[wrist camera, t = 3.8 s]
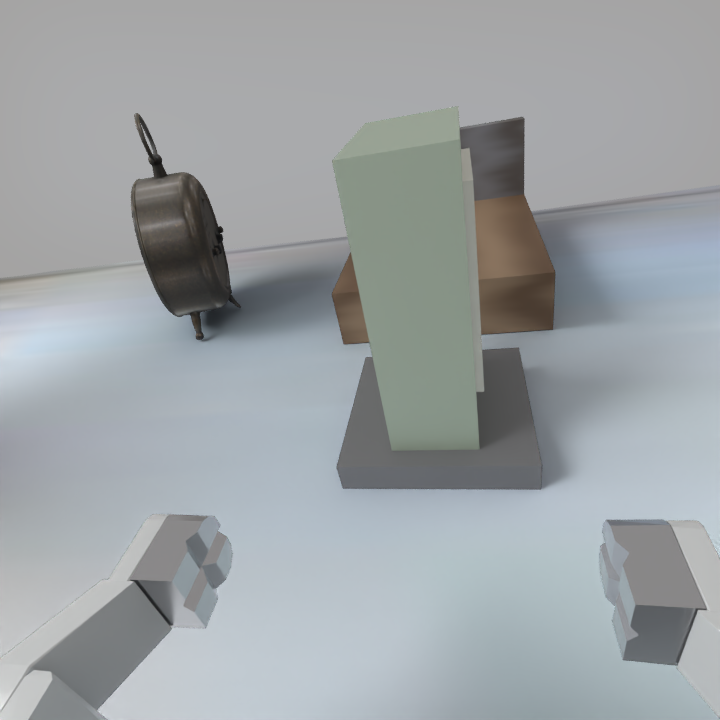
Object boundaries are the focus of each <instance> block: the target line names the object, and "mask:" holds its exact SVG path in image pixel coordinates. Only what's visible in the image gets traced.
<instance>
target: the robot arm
mask: <svg viewBox="0 0 720 720" xmlns="http://www.w3.org/2000/svg"><path fill="white" fill-rule="evenodd" d="M219 527H220V524H219V522H218V520H217V519H216V517H215V516H199V515H174V514H152V515H151V516H150V517H149V518H147V519H146V520H145V522H144V523H143V525H142V526H141V528H140V529H139V531H138V533H137V534H136V536H135V537H134V539H133V541H132V542H131V544H130V545H129V547H128V549H127V550H126V552H125V553H124V555H123V556H122V558H121V560H120V561H119V563H118V564H117V566H116V568H115V569H114V571H113V572H112V574H111V576H110V577H109V579H102V580H101V581H100V582H98V583H97V584H96V585H95V586H93V587H92V588H91V589H89V590H88V591H87V592H85V593H84V594H83V595H82V596H80V597H79V598H78V599H76V600H75V601H74V602H72V603H71V604H70V605H69V606H67V607H66V608H65V609H63V610H62V611H61V612H59V613H58V614H57V615H56V616H54V617H53V618H52V619H50V620H49V621H48V622H47V623H45V624H44V625H43V626H41V627H40V628H39V629H37V630H36V631H35V632H34V633H32V634H31V635H30V636H28V637H27V638H26V639H24V640H23V641H22V642H21V643H19V644H18V645H17V646H15V647H14V648H13V649H11V650H10V651H9V652H8V653H6V654H5V655H4V656H2V657H1V658H0V720H107V719H106V718H105V717H104V716H103V715H101V714H100V713H99V712H98V711H97V710H98V708H99V707H100V706H101V705H102V704H103V703H104V702H105V701H106V700H107V699H108V698H109V697H110V696H111V694H112V693H113V692H114V691H115V690H116V689H117V688H118V687H119V686H120V685H121V684H122V683H123V681H124V680H125V679H126V678H127V677H128V676H129V675H130V674H131V673H132V672H133V671H134V670H135V668H136V667H137V666H138V665H139V664H140V663H141V662H142V661H143V660H144V659H145V658H146V657H147V656H148V654H149V653H150V652H151V651H152V650H153V649H154V648H155V647H156V646H157V645H158V644H159V643H160V641H161V640H162V639H163V638H164V637H165V636H166V635H167V634H168V633H169V632H170V631H171V630H172V628H171V627H186V628H206V627H207V624H208V622H209V619H210V617H211V615H212V612H213V610H214V607H215V605H216V603H217V600H218V595H217V591H216V588H217V587H218V586H219V585H220V584H221V583H223V582H224V581H225V580H226V578H227V576H228V573H229V570H230V568H231V562H232V554H233V553H232V548H231V543H230V542H229V540H228V538H227V537H226V536H225V535H223V534H222V533H220V532H219V531H218V529H219ZM602 533H603V536H604V540H605V543H604V544H603V545H601V546H600V553H599V563H600V574H601V579H602V584H603V588H604V592H605V596H606V598H607V599H608V600H609V601H610V602H611V603H612V604H613V605H614V606H615V608H614V614H613V620H612V622H613V626H614V630H615V633H616V637H617V641H618V644H619V648H620V652H621V655H622V659H623V660H627V661H637V662H647V663H657V664H667V665H677V669H678V670H679V671H680V673H681V674H682V675H683V676H684V677H685V679H686V680H687V681H688V682H689V683H690V684H691V686H692V687H693V688H694V689H695V690H696V691H697V693H698V694H699V695H700V696H701V697H702V698H703V700H704V701H705V702H706V703H707V704H708V705H709V707H710V708H711V709H712V710H713V711H714V712H715V714H716V715H717V716H718V717H719V718H720V557H719V555H718V553H717V551H716V550H715V548H714V546H713V544H712V542H711V540H710V538H709V536H708V534H707V532H706V530H705V528H704V526H703V525H702V524H701V523H700V522H699V521H694V520H686V521H664V520H605V522H604V523H603V529H602Z"/></svg>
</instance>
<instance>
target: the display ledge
mask: <svg viewBox="0 0 720 720" xmlns="http://www.w3.org/2000/svg"><path fill="white" fill-rule="evenodd" d="M460 142H461V149H466V148H470V157H471V166H472V174H473V187H474V206H475V225H476V244H477V263H478V282H479V301H480V320H481V334H494V333H508V332H522V331H536V330H550V329H553V313H554V291H555V270H554V268H553V265H552V263H551V260H550V258H549V255H548V253H547V250H546V248H545V245H544V243H543V240H542V238H541V235H540V233H539V230H538V228H537V225H536V223H535V220H534V218H533V215H532V213H531V210H530V208H529V206H528V203H527V201H526V198H525V196H524V118H523V117H519V118H513V119H507V120H501V121H495V122H490V123H484V124H479V125H473V126H467V127H461V128H460ZM332 297H333V302H334V306H335V310H336V314H337V318H338V322H339V326H340V331H341V335H342V339H343V343H344V344H351V343H366V342H369V338H368V333H367V328H366V323H365V318H364V313H363V308H362V304H361V299H360V294H359V289H358V284H357V279H356V275H355V270H354V265H353V260H352V255H351V252H350V255H349V257H348V259H347V261H346V263H345V266H344V268H343V270H342V272H341V275H340V277H339V279H338V281H337V283H336V286H335V288H334V290H333V292H332Z"/></svg>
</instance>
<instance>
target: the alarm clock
mask: <svg viewBox="0 0 720 720" xmlns="http://www.w3.org/2000/svg"><path fill="white" fill-rule="evenodd" d="M134 117H135V123H136V127H137V130H138V132H139V135H140V137H141V140H142V142H143V144H144V147H145V149H146V151H147V153H148V155H149V158H148V160H149V162H150V164H151V165H152V167H153V173H154V177H152V178H146V179H138V180H136V181H135V183H134V184H133V187H132V191H131V210H132V218H133V222H134V227H135V232H136V236H137V240H138V244H139V247H140V250H141V254H142V257H143V260H144V263H145V266H146V268H147V271H148V273H149V276H150V278H151V281H152V283H153V285H154V288H155V290H156V292H157V294H158V296H159V297H160V299H161V301H162V303H163V304H164V306H165V307H166V308H167V309H168V310H169V311H170V312H171V313H172V314H173V315H175V316H177V317H182V316H184V315H189V314H190V315H191V319H192V323H193V325H194V328H195V331H196V339H197V340H202V339H203V338H204V335H203V333H202V331H201V319H200V312H205V311H209V310H214V309H218V308H221V307H223V306H224V305H225V304H226V302H227V301H228V300H229V301H230V302H232V303H233V304H234V305H235V306H237V307H239V308H241V306H240V305H239V304H238V303H237V302H236V301H235V299H234V298H233V296H232V295H231V293H232V290H231V286H230V278H229V271H228V264H227V260H226V255H225V251H224V246H223V243H222V241H223V237H222V234H220V233H222V232H223V228H222V227H221V226H220V227H218V224H217V221H216V218H215V215H214V212H213V209H212V206H211V204H210V201H209V199H208V197H207V194H206V192H205V190H204V188H203V187H202V185H201V184H200V182H199V181H198V180H197V179H196V178H195V177H194V176H192V175H191V174H188V173H185V172H181V173H174V174H169V175H167V174H166V172H165V170H164V168H163V165H162V158H161V157H160V156H159V155H158V154H157V150H156V147H155V144H154V142H153V139H152V137H151V135H150V133H149V130H148V128H147V126H146V124H145V122H144V121H143V119H142V118H141V116H140V115H139V114H138V113H136V114H135V115H134ZM140 123H141V124H140ZM141 125H142V127H143V129H144V131H145V133H146V135H147V137H148V139H149V141H150V144H151V147H152V150H153V153H154V154H152V153H151V150H150V149H149V146H148V144H147V142H146V139H145V137H144V133H143V130H142V127H141Z"/></svg>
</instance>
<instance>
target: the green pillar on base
mask: <svg viewBox="0 0 720 720" xmlns="http://www.w3.org/2000/svg"><path fill="white" fill-rule="evenodd" d="M332 163H333V168H334V173H335V177H336V182H337V187H338V192H339V197H340V202H341V207H342V212H343V216H344V221H345V226H346V231H347V236H348V241H349V245H350V250H351V255H352V260H353V265H354V270H355V275H356V279H357V284H358V289H359V294H360V299H361V304H362V308H363V313H364V318H365V323H366V328H367V333H368V338H369V342H370V347H371V352H372V357H366V358H365V362H364V366H363V370H362V373H361V377H360V381H359V385H358V389H357V392H356V396H355V400H354V404H353V407H352V411H351V415H350V419H349V422H348V426H347V430H346V434H345V437H344V441H343V445H342V449H341V452H340V456H339V460H338V464H337V470H338V474H339V477H340V480H341V484H342V487H343V489H541V478H542V464H541V458H540V453H539V448H538V443H537V438H536V433H535V428H534V423H533V418H532V413H531V408H530V402H529V397H528V392H527V387H526V382H525V377H524V372H523V367H522V362H521V357H520V352H519V348H505V349H489V350H482V339H481V320H480V301H479V282H478V263H477V244H476V225H475V206H474V187H473V174H472V166H471V157H470V148H466V149H461V142H460V126H459V111H458V107H451V108H446V109H441V110H435V111H430V112H425V113H419V114H413V115H408V116H402V117H397V118H392V119H386V120H381V121H375V122H370V123H365V124H364V125H363V126H362V128H361V129H360V130H359V131H358V132H357V133H356V134H355V135H354V137H353V138H352V139H351V140H350V141H349V142H348V143H347V144H346V145H345V147H344V148H343V149H342V150H341V151H340V152H339V153H338V155H337V156H336V157H335V158H334V159H333V160H332Z"/></svg>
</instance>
